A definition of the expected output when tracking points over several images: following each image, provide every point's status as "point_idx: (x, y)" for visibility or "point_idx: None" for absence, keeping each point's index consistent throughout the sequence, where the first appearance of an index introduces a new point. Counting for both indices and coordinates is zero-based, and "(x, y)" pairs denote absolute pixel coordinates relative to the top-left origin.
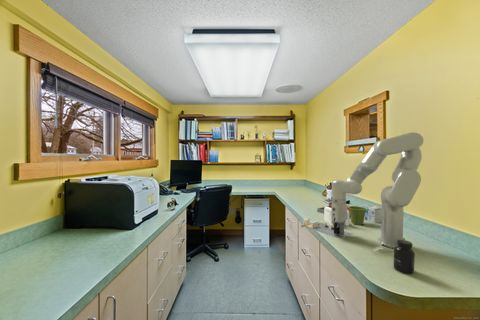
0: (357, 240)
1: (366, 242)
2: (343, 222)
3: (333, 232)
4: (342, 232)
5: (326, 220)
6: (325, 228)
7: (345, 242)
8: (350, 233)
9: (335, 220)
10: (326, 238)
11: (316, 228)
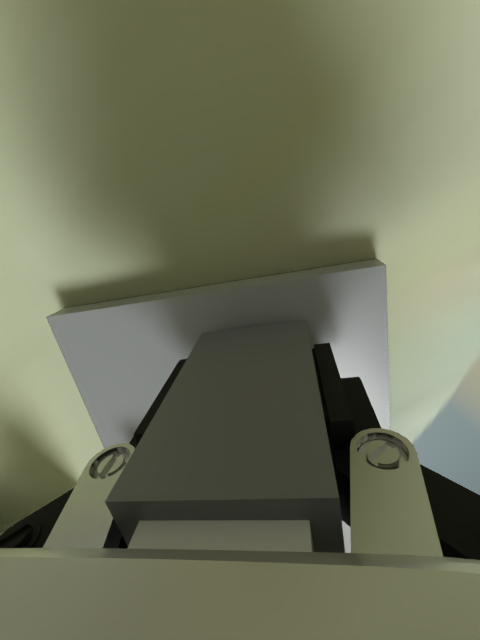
0: (111, 179)
1: (37, 64)
2: (112, 514)
3: None
4: (238, 347)
5: None
6: None
7: (344, 186)
8: (64, 343)
9: None
10: (455, 388)
11: None
